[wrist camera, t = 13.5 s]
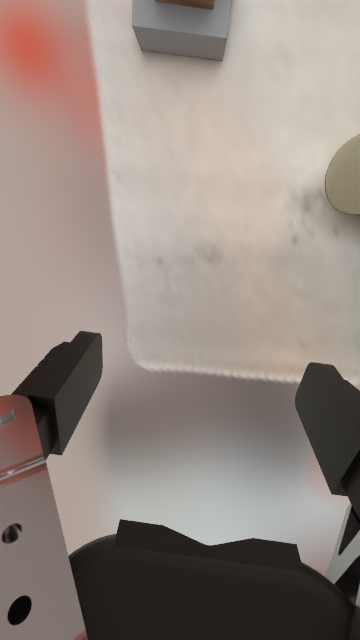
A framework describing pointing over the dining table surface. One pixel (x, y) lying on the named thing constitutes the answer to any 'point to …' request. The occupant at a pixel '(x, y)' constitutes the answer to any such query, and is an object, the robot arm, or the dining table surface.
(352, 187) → the can
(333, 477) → the robot arm
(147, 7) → the base block
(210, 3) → the walnut brick
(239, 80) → the dining table surface
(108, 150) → the dining table surface
